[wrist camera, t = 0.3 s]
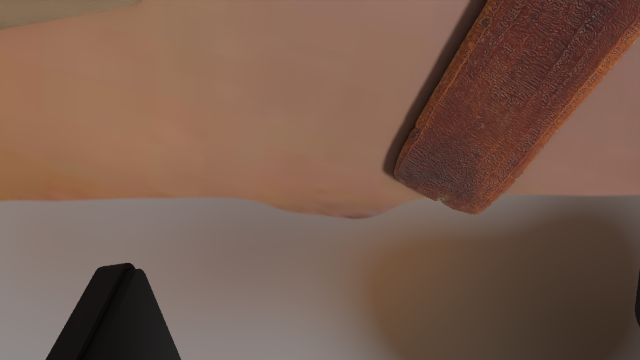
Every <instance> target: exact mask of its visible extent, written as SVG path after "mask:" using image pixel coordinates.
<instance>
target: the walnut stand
mask: <svg viewBox="0 0 640 360" xmlns="http://www.w3.org/2000/svg"><path fill="white" fill-rule="evenodd" d="M141 2H142V0H0V29H6V28H11V27H17V26H22V25H28V24H33V23H39V22H44V21H50V20H55V19H61V18H66V17H72V16H77V15H83V14H88V13H94V12H99V11H105V10H111V9H116V8H122V7H127V6H133V5H138V4H139V3H141Z"/></svg>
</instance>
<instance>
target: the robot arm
mask: <svg viewBox="0 0 640 360" xmlns="http://www.w3.org/2000/svg"><path fill="white" fill-rule="evenodd" d="M635 314H636V318H637V322H638V324H639V326H640V272H639V280H638V289H637V296H636V304H635ZM46 360H181V358H180V356H179V353H178V351H177V349H176V346H175V344H174V341H173V339H172V337H171V335H170V332H169V330H168V327H167V325H166V322H165V320H164V318H163V315H162V313H161V311H160V308H159V306H158V303H157V301H156V299H155V296H154V294H153V291H152V289H151V287H150V284H149V282H148V279H147V277H146V275H145V273H144V271H143V270H141V269H135V267H134V266H133V265H132V264H131V263H124V264H117V265H110V266H103V267H100V268H98V269H97V270H96V272H95V273H94V275H93V277H92V279H91V280H90V282H89V284H88V286H87V287H86V289H85V291H84V293H83V294H82V296H81V298H80V300H79V302H78V303H77V305H76V307H75V309H74V310H73V312H72V314H71V316H70V318H69V319H68V321H67V323H66V325H65V326H64V328H63V330H62V332H61V333H60V335H59V337H58V339H57V340H56V342H55V344H54V346H53V347H52V349H51V351H50V353H49V355H48V356H47V358H46Z"/></svg>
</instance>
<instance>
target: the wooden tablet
mask: <svg viewBox="0 0 640 360" xmlns="http://www.w3.org/2000/svg"><path fill="white" fill-rule="evenodd" d="M639 36H640V0H488V1H487V2H486V4H485V6H484V8H483V9H482V11H481V13H480V14H479V16H478V18H477V19H476V21H475V23H474V24H473V26H472V28H471V29H470V31H469V32H468V34H467V36H466V38H465V39H464V41H463V42H462V44H461V46H460V48H459V49H458V51H457V53H456V54H455V56H454V58H453V60H452V61H451V63H450V65H449V66H448V68H447V70H446V71H445V73H444V75H443V77H442V79H441V80H440V82H439V84H438V85H437V87H436V89H435V90H434V92H433V94H432V95H431V97H430V99H429V101H428V103H427V104H426V106H425V108H424V109H423V111H422V113H421V115H420V116H419V118H418V120H417V121H416V125H415V128H414V129H413V130H412V131H411V133H410V135H409V137H408V139H407V141H406V143H405V144H404V146H403V148H402V150H401V152H400V155H399V157H398V160H397V163H396V166H395V169H394V176H395V178H396V179H397V180H398V181H400V182H402V183H403V184H404V185H406V186H408V187H410V188H413V189H415V190H417V191H418V192H420V193H421V194H423V195H425V196H426V197H428V198H430V199H432V200H434V201H437V200H441V201H442V202H443V204H445V205H447V206H449V207H450V208H452V209H455V210H458V211H462V212H466V213H469V214H479V213H480V212H482V211H484V210H485V209H486V208H487V207H489V206H490V205H491V204H492V203H493V202H495V201H496V200H497V199H498V198H499V197H500V196H501V195H502V194H503V193H504V192H505V191H506V190H507V189H508V188H509V187H510V186H511V185H512V184H513V183H514V182H515V181H516V180H517V179H518V177H519V176H520V175H521V174H522V173H523V172H524V171H525V170H526V168H527V167H528V165H529V164H530V163H531V162H532V161H533V160H534V159H535V157H536V156H537V155H538V153H539V152H540V151H541V149H542V148H543V147H544V146H545V145H546V144H547V143H548V141H549V140H550V139H551V138H552V137H553V135H554V134H555V133H556V132H557V131H558V130H559V129H560V127H561V126H562V125H563V124H564V123H565V121H566V120H567V119H568V118H569V117H570V116H571V115H572V114H573V112H574V111H575V110H576V109H577V108H578V107H579V105H580V104H581V103H582V102H583V101H584V99H585V98H586V97H587V96H588V95H589V94H590V93H591V92H592V91H593V90H594V89H595V88H596V86H597V85H598V84H599V83H600V82H601V80H602V79H603V78H604V77H605V76H606V74H607V73H608V72H609V71H610V70H611V69H612V68H613V67H614V65H615V64H616V63H617V62H618V61H619V60H620V59H621V57H622V56H623V55H624V54H625V53H626V51H627V50H628V49H629V48H630V47H631V46H632V45H633V44H634V42H635V41H636V40H637V39H638V38H639Z"/></svg>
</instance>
